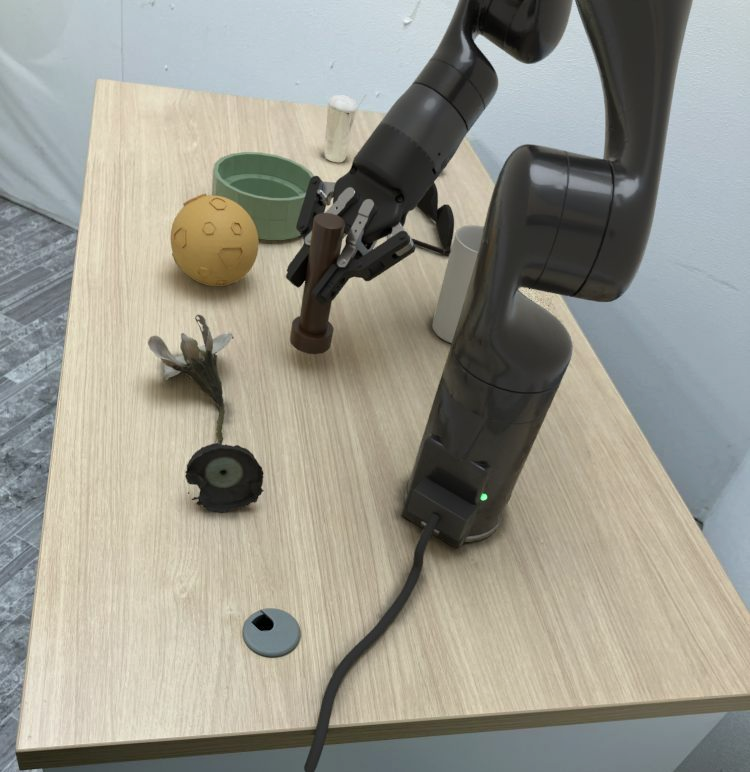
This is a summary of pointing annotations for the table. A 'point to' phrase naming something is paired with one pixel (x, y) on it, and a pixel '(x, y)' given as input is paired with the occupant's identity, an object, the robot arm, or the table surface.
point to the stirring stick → (313, 322)
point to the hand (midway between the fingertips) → (304, 291)
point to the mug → (456, 280)
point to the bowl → (264, 190)
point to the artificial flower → (216, 461)
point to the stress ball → (214, 240)
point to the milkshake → (339, 126)
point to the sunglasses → (437, 220)
